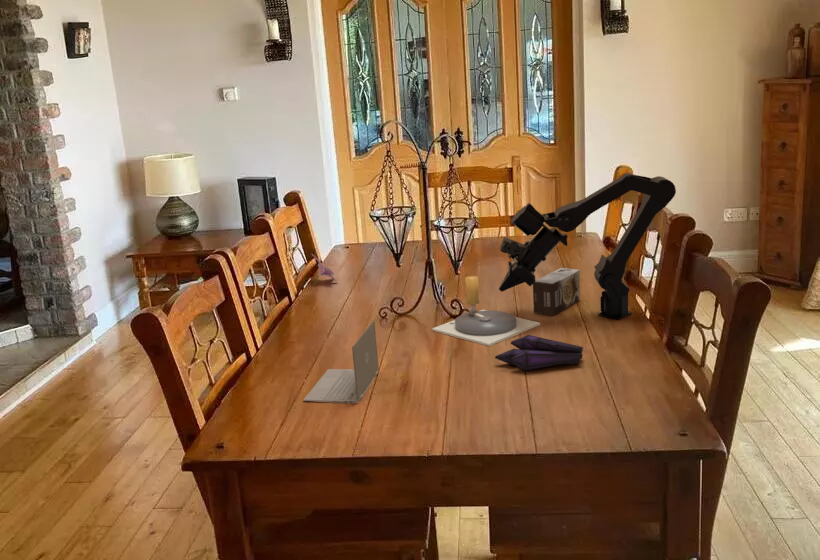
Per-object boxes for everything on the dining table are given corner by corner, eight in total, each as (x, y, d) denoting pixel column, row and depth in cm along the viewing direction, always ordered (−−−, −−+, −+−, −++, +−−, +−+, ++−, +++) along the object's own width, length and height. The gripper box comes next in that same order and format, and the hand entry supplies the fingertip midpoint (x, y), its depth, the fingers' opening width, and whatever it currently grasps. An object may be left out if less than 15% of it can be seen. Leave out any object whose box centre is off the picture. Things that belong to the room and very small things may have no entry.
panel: (539, 324, 216) (539, 321, 216) (489, 346, 203) (488, 342, 203) (482, 311, 230) (482, 308, 230) (432, 330, 218) (431, 327, 217)
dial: (528, 326, 213) (527, 283, 210) (475, 339, 206) (473, 295, 203) (494, 311, 227) (492, 271, 224) (444, 323, 220) (441, 281, 217)
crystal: (583, 330, 192) (496, 325, 194) (586, 352, 181) (495, 347, 183) (580, 358, 194) (495, 353, 196) (584, 381, 184) (493, 375, 186)
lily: (333, 292, 264) (344, 264, 264) (299, 280, 263) (309, 251, 264) (336, 293, 276) (345, 266, 276) (302, 281, 275) (312, 254, 276)
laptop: (328, 371, 195) (323, 319, 191) (379, 372, 192) (375, 319, 189) (303, 403, 178) (296, 346, 174) (359, 404, 175) (353, 346, 172)
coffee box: (581, 300, 234) (553, 316, 222) (560, 297, 238) (532, 313, 226) (580, 269, 232) (553, 284, 220) (559, 266, 236) (531, 281, 224)
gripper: (514, 220, 224) (476, 262, 227) (519, 234, 206) (478, 280, 209) (544, 246, 225) (506, 287, 229) (552, 263, 207) (511, 308, 211)
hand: (500, 290), depth 219 cm, fingers closed
